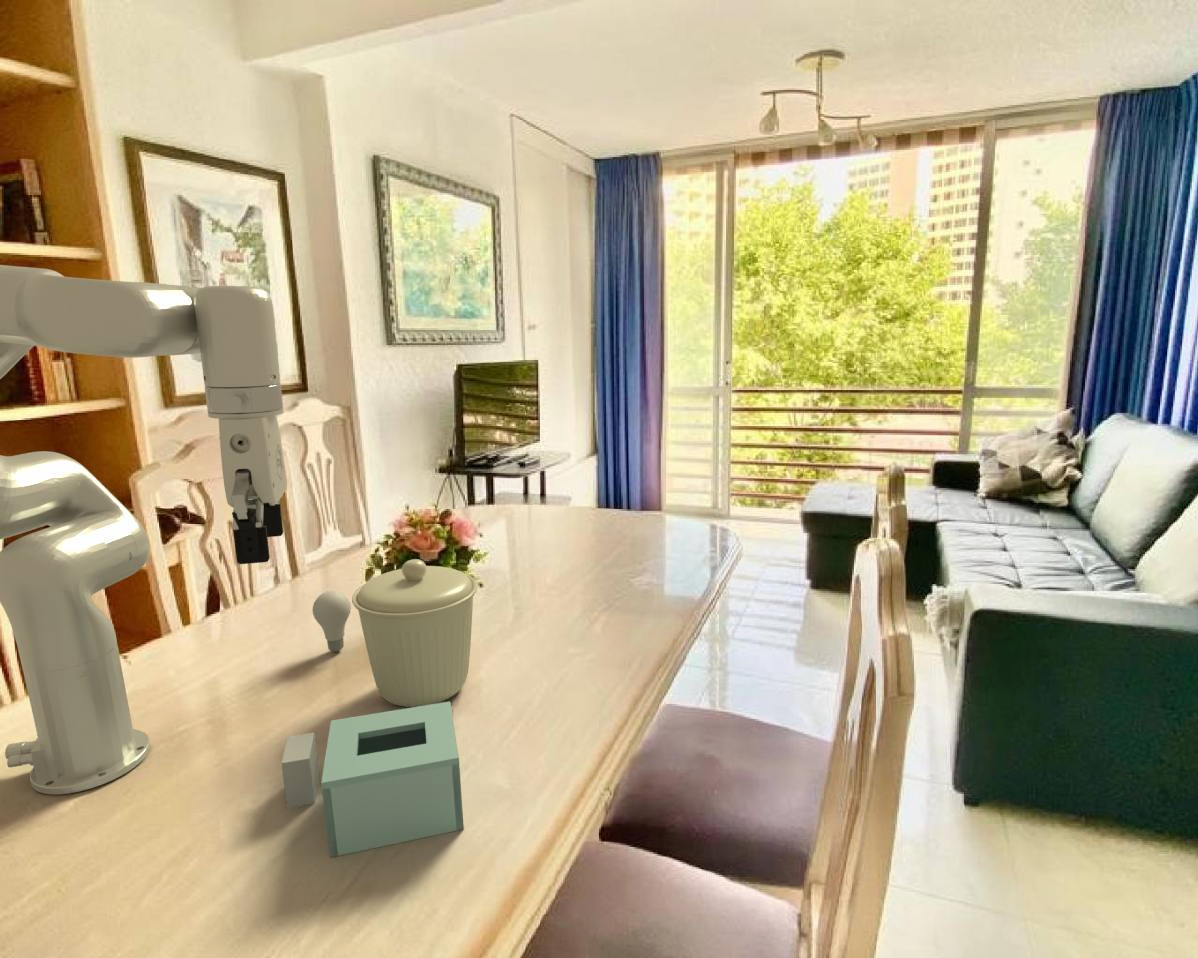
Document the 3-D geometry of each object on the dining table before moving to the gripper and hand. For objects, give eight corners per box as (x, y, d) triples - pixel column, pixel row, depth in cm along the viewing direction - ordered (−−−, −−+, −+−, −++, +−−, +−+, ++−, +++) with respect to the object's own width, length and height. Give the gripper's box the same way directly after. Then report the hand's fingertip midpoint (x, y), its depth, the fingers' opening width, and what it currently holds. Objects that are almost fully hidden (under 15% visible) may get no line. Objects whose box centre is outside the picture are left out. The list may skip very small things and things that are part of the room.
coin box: (330, 857, 73) (321, 782, 71) (338, 786, 84) (330, 720, 82) (463, 828, 77) (458, 757, 75) (454, 764, 88) (450, 701, 86)
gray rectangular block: (314, 803, 81) (309, 758, 80) (287, 808, 81) (281, 763, 79) (319, 774, 87) (314, 732, 85) (293, 779, 86) (288, 736, 84)
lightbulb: (342, 660, 116) (336, 599, 114) (310, 658, 117) (303, 597, 115) (361, 644, 122) (356, 586, 119) (330, 642, 123) (324, 584, 121)
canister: (359, 732, 96) (344, 589, 91) (364, 671, 112) (352, 548, 108) (490, 710, 100) (482, 573, 96) (476, 655, 117) (468, 536, 113)
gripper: (268, 409, 69) (285, 570, 73) (292, 393, 85) (305, 525, 89) (184, 412, 67) (206, 577, 71) (225, 394, 83) (242, 530, 87)
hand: (261, 548), depth 80 cm, fingers open, 9 cm apart
